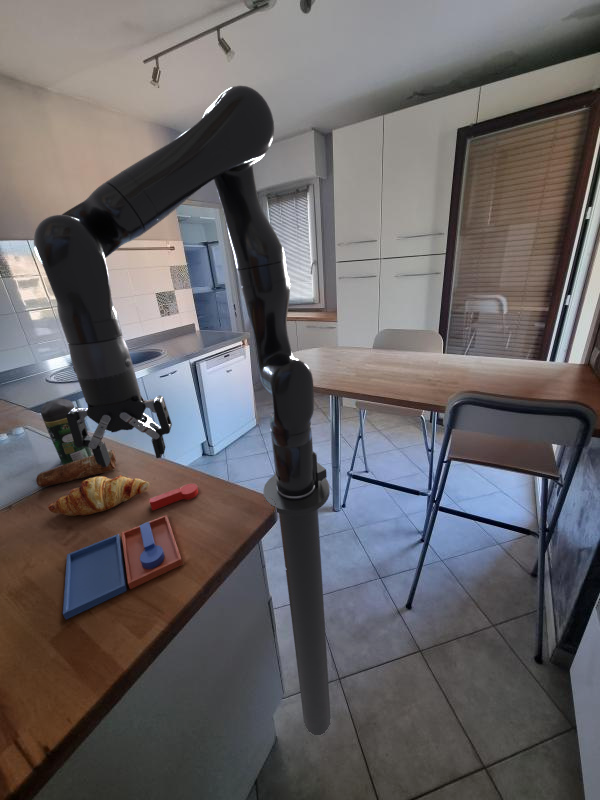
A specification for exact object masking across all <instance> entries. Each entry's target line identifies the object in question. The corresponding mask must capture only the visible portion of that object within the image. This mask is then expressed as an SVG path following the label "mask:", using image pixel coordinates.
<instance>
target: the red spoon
mask: <svg viewBox="0 0 600 800" xmlns="http://www.w3.org/2000/svg"><path fill="white" fill-rule="evenodd" d="M198 494H199V488H198V485H197V484H196V483H187V484H185V485H183V486H181V487H178V488H175V489H171V490H170V491H166V492H164V493H161V494H159V495H156V496H153V497H150V498H149V499H148V501H149V504H150V508H151V511H156V510H158V509H161V508H164V507H166V506H168V505H171V504H174V503H177V502H179V501H181V500H191V499H194V498H195V497H197V496H198Z"/></svg>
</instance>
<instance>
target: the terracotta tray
mask: <svg viewBox="0 0 600 800" xmlns="http://www.w3.org/2000/svg"><path fill="white" fill-rule="evenodd" d="M148 522H149V524H150V527H151V530H152V534H153V538H154V542H155V546H160V547H162V549H163V552H164V555H165V558H164V560H163V562H162V563H161V564H160V565H159V566H157V567H156V568H153V569H145V568H143V566H142V564H141V561H140V556H141V554H142V552H143V551H144V550H145V549H144V544H143V540H142V535H141V530H140V525H138V526H135V527H133V528H130V529H127V530H125V531H122V532H121V543H122V551H123V558H124V562H125V565H124V566H125V571H126V572H125V573H126V579H127V580H126V581H127V585H128V587H129V589H130V590H132V589H134V588H136V587H138V586H141V585H142V584H144V583H147V582H149V581H151V580H154V579H155V578H157V577H160V576H161V575H163V574H166V573H168V572H170V571H172V570H174V569H176V568H179V567H180V566H182V565H183V563H184V562H183V560H182V557H181V553H180V550H179V548H178V545H177V542H176V538H175V535H174V533H173V529H172V527H171V522H170V520H169V518H168V515H167V514H165V515H162V516H159V517H157V518H155V519H152V520H150V521H148Z"/></svg>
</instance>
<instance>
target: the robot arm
mask: <svg viewBox="0 0 600 800" xmlns="http://www.w3.org/2000/svg"><path fill="white" fill-rule="evenodd" d="M273 116H274V115H273V114H272V111H271V108H270V106H269V104H268V102H267V100H266V99H265V98H264V97H263V96H262V94H260V93H259V91H258V90H256V89H254V88H252V87H250V86H247V85H236V86H232V87H229V88H228V89H226V90H224V91H223V92H222V93H221V94H220V95H218V97H217V98H216V99H215V100H214V101H213V103H211V105H209V106H208V107H207V109H206V110H205V112H204V114H203V116H202V118H201V119H199V121H197V122H196V123H195V124H194V125H193V126H191V127H190V128H189V129H187V130H186V131H185V132H183V133H182V134H180V135H179V136H178V137H176V138H175V139H173V140H171V141H170V142H169V143H167V144H165V145H164V146H162V147H160V148H159V149H157V150H155V151H154V152H152V153H149V154H148V155H147V156H145V157H143V158H141V159H140V160H138V161H137V162H135V163H133V164H131V165H130V166H128V167H127V168H125V169H123V170H122V171H120V172H119V173H117V174H116V175H114V176H113V177H110V179H108V180H106V181H105V182H103V183H102V184H100V185H99V186H98V187H96V188H95V189H94V190H93V191H92V192H91V193H90V195H89V196H88V197H87V198H86V199H84V200H83V201H82V202H80V203H78V204H76V205H75V206H73V207H72V208H70V209H68V210H67V211H64V212H62V214H55V215H54V214H53V215H51V216H48V217H46V218H44V219H43V220H42V221H40V222H39V223H38V224H37V227H35V230H34V234H33V235H34V236H33V248H34V251H35V254H36V256H37V258H38V260H39V261H40V262H41V265H42V267H43V270H44V273H45V275H46V278H47V280H48V284H49V285H50V288H51V291H52V293H53V296H54V298H55V300H56V309H57V314H58V319H59V322H60V326H61V328H62V331H63V333H64V336H65V339H66V342H67V345H68V351H69V356H70V361H71V363H72V368H73V371H74V373H75V375H76V378H77V380H78V383H79V387H80V390H81V392H82V395H83V398H84V401H85V403H86V405H87V408H80V407H79V406H74V408H73V409H72V410H71V411H70V412H69V413H68V414H67V415H66V417H67V420H68V424H69V427H70V430H71V434H72V437H73V440H74V444H75V446H76V447H78V448H80V447H83V446H85V447H89V448H90V449H91V452H92V455H94V457H95V460H96V463H97V464H98V465H101V467H102V468H103V467H107V466H108V465H109V463H110V457H109V454H108V451H109V450H108V449H107V446H106V443H105V441H102V440H103V438H104V436H105V434H106V432H107V431H108V432H111V433H117V432H120V431H131V430H133V429H136V430H138V431H139V432H140V433H143V434H146V435H147V436H148V437H150V438H151V443H152V447H153V451H154V454H155V458H156V459H161V458H162V457H163V455H164V454H165V451H166V443H165V439H164V435H168V434H170V433H171V429H172V426H173V423H172V420H171V417H170V413H169V411H168V407H167V404H166V400H165V398H164V396H162V395H157V396H156V397H155V398H151V399H146V400H145V398H143V396H142V394H141V390H140V385H139V382H138V379H137V375H136V372H135V371H136V370H135V368H134V364H133V361H132V357H131V354H130V350H129V347H128V345H127V343H126V341H125V338H124V335H123V331H122V327H121V324H120V320H119V317H118V313H117V310H116V308H115V305H114V302H113V297H112V290H111V283H110V276H109V271H108V266H107V261H106V258H108V257H109V256H111V255H112V254H113V253H114V252H115V251H116V250H118V249H119V248H121V247H122V246H123V245H125V244H127V243H129V242H130V243H131V242H132V241H134V240H136V239H137V238H139V237H141V236H143V234H145V233H147V231H149V230H151V229H152V228H154V227H155V226H156V225H158V224H159V223H160V222H162V221H163V220H164V219H165V218H167V217H168V216H169V215H170V214H173V212H174V211H175V210H177V209H178V208H179V207H180V206H181V205H183V204H184V203H185V202H186V201H187V200H189V199H190V198H191V197H192V196H194V195H195V194H197V192H199V191H200V190H201V189H202V188H203V187H205V186H206V185H207V184H209V183H210V182H212V181H213V183H214V185H215V189H216V192H217V194H218V198H219V201H220V204H221V208H222V212H223V215H224V216H223V217H224V220H225V225H226V229H227V233H228V237H229V238H228V239H229V241H230V246H231V250H232V254H233V260H234V264H235V269H236V273H237V277H238V281H239V286H240V290H241V292H242V296H243V300H244V303H245V309H246V311H247V315H248V319H249V323H250V326H251V329H252V332H253V337H254V342H255V343H254V344H255V350H256V358H257V365H258V373H259V378H260V379H259V380H260V382H261V384H262V386H263V387H264V388H265V390H266V391H267V392H268V393H270V394H271V397H272V408H273V412H272V413H271V414H270V415H269V429H270V437H271V445H272V454H273V463H274V475H275V477H276V481H277V492H278V494H279V495H280V496H281V497H283V498H285V499H287V500H302V499H305V498H307V497H309V496H310V495H312V494H313V492H314V491H315V489H316V488H318V481H322V480H323V479H324V478H326V479H327V468H326V467H324V466H322V464H320V463H319V462H318V456H317V455H318V454H317V453H316V452H315V451H314V448H313V446H314V445H313V432H312V418H313V415H314V411H315V409H314V408H315V402H314V401H315V396H314V395H315V394H314V393H315V392H314V390H315V389H314V378H313V374H312V370H311V368H310V367H309V365H308V364H306V363H305V362H304V361H302V360H300V359H299V358H296V357H295V356H294V353H293V350H292V346H291V343H290V342H291V341H290V338H289V333H288V323H287V322H288V312H289V306H290V297H291V286H290V285H291V283H290V277H289V272H288V266H287V260H286V255H285V251H284V247H283V245H282V243H281V241H280V239H279V237H278V235H277V233H276V232H275V230H274V228H273V226H272V224H271V223H270V221H269V219H268V217H267V216H266V214H265V212H264V210H263V207H262V204H261V202H260V199H259V195H258V191H257V186H256V185H257V184H256V181H255V175H254V174H255V173H254V166H253V165H254V164H255V163H257V162H259V161H260V160H262V159H263V157H265V155H266V154H267V153H268V151H269V150H270V149H271V146H272V144H273V140H274V137H275V136H274V135H275V124H274V123H275V122H274V117H273ZM146 409H149V410H150V411H151V412H152V413H155V414H156V417H157V421H158V424H159V425H158V424H157V423H156V422H154V421H153V419H152V417H150V416H149V415H147V414H146V413H145V411H146ZM88 418H89V419H90V420H91V421H93V422H94V423H96V424H97V426H96V428H95V430H94V432H93V434H92V435H89V433H88V429H87V425H86V420H87V419H88Z"/></svg>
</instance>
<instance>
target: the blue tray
mask: <svg viewBox="0 0 600 800" xmlns="http://www.w3.org/2000/svg"><path fill="white" fill-rule="evenodd" d="M125 571H126V570H125V565H124V555H123V547H122V539H121V537H120V534H119V533H117V534H114V535H112V536H110V537H107V538H105V539H102V540H100V541H98V542H94V543H91V544H90V545H87V546H84V547H81V548H80V549H77V550H74V551H72V552H69V553H67V554H66V566H65V579H64V590H63V591H64V592H63V604H62V605H63V606H62V607H63V608H62V615H63V617H64V619H65V620H68V619H70V618H73V617H75V616H77V615H79V614H81V613H83V612H86V611H88V610H89V609H92V608H94V607H96V606H98V605H100V604H102V603H104V602H106V601H109V600H111V599H112V598H115V597H117V596H120V595H121V594H124V593H125V592H127V591H128V588H127V580H126V579H127V578H126V574H125V573H126V572H125Z"/></svg>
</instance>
